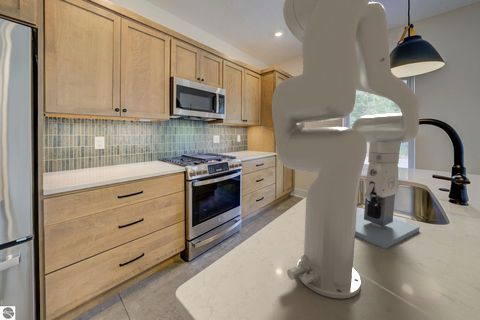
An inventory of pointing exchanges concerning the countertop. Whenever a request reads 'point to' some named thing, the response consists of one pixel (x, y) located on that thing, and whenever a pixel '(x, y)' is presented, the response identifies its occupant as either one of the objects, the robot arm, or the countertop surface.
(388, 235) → the post board
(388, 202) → the grey block
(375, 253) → the countertop surface
